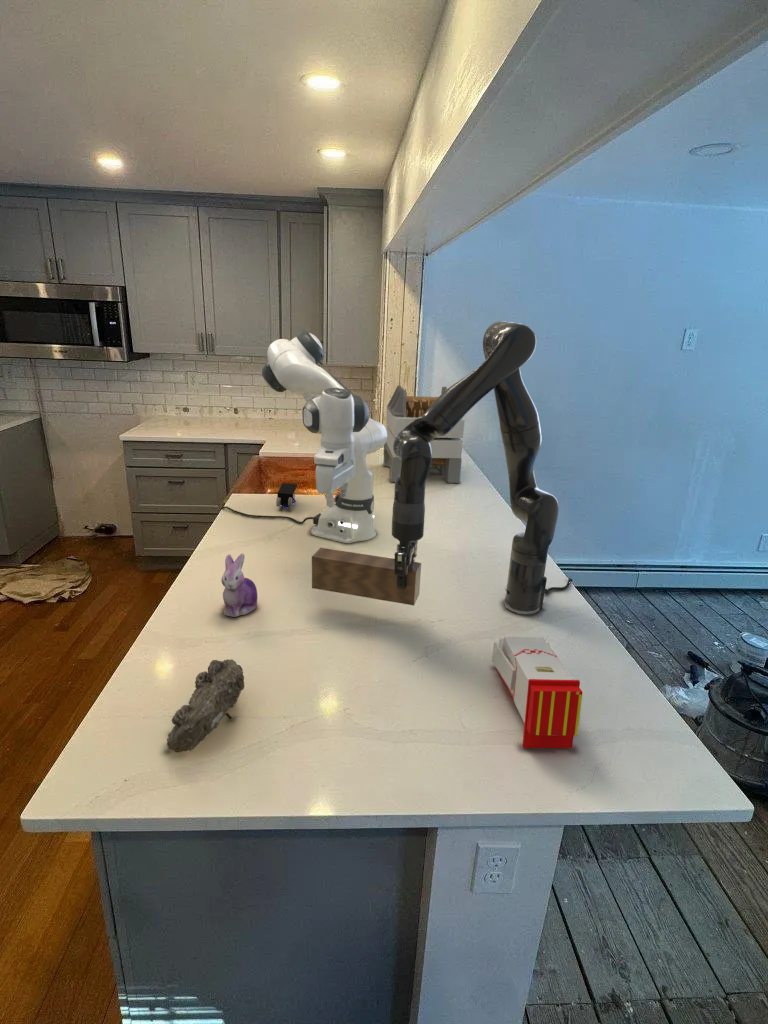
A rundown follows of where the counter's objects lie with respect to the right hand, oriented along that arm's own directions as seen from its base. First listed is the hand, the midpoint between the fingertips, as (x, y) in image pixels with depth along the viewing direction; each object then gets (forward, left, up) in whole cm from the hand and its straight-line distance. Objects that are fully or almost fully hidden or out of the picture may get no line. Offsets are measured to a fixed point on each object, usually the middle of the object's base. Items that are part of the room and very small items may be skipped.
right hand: (404, 581), depth 138 cm
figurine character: (+11, -95, -12) cm, 96 cm away
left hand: (+10, -27, +12) cm, 31 cm away
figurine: (+37, -19, -12) cm, 44 cm away
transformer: (-60, -128, -12) cm, 142 cm away
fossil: (+47, +21, -12) cm, 53 cm away
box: (+8, -6, -4) cm, 11 cm away
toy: (-14, +35, -12) cm, 39 cm away
